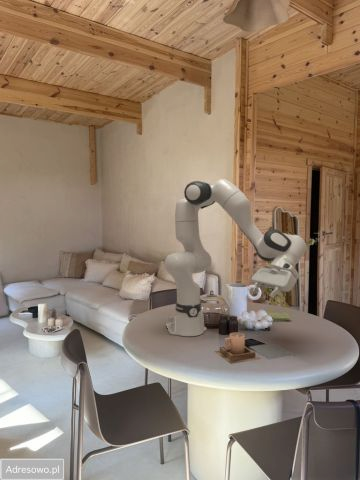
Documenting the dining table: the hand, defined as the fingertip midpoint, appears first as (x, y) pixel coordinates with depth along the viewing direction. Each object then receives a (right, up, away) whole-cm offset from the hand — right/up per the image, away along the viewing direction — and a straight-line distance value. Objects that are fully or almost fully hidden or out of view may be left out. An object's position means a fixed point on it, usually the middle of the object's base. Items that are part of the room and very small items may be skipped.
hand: (262, 294), depth 147 cm
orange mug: (-12, -23, -5) cm, 26 cm away
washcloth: (+17, -21, +52) cm, 59 cm away
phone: (+8, -22, +37) cm, 44 cm away
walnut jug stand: (-11, -24, -4) cm, 27 cm away
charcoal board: (+3, -24, 0) cm, 24 cm away
